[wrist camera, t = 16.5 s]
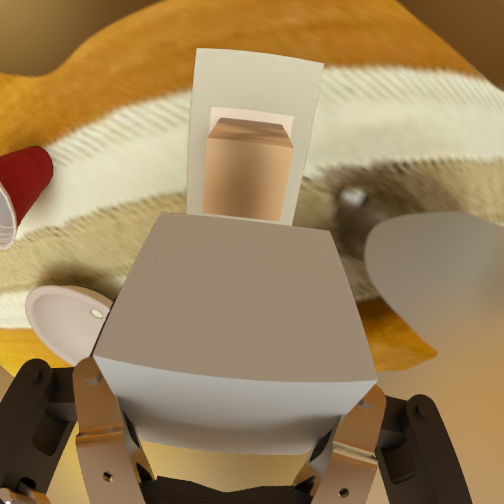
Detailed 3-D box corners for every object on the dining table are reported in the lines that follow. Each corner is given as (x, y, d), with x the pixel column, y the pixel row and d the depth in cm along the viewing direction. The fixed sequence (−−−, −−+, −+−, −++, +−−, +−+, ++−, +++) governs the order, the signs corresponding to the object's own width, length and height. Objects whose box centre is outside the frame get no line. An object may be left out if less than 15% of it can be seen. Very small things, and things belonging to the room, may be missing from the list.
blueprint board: (321, 64, 24) (331, 63, 20) (287, 232, 35) (291, 253, 32) (199, 48, 23) (190, 45, 20) (188, 221, 35) (180, 241, 31)
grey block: (329, 231, 10) (378, 380, 5) (293, 336, 14) (304, 453, 9) (161, 212, 10) (92, 355, 5) (169, 323, 13) (143, 440, 9)
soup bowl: (171, 360, 52) (165, 389, 47) (69, 343, 52) (59, 367, 47) (146, 262, 38) (131, 295, 33) (24, 254, 38) (4, 279, 33)
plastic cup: (30, 210, 33) (-18, 260, 23) (4, 146, 27) (-54, 183, 17) (80, 192, 32) (27, 246, 22) (53, 116, 26) (-15, 149, 16)
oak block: (285, 130, 24) (293, 148, 19) (275, 190, 28) (279, 221, 23) (217, 122, 24) (207, 137, 19) (212, 183, 27) (202, 213, 22)
